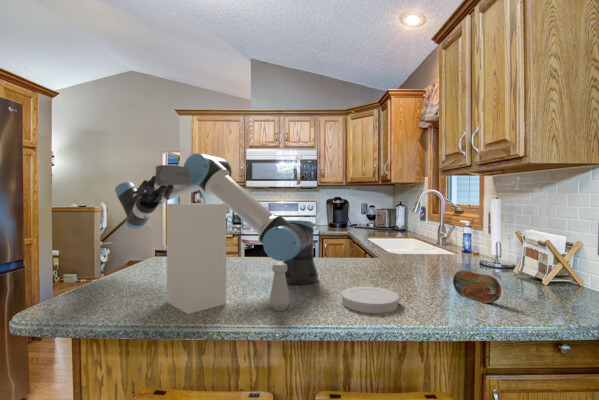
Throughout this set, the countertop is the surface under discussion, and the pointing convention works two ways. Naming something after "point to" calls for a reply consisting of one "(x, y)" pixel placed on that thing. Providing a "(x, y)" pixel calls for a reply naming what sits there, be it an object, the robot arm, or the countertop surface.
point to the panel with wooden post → (172, 175)
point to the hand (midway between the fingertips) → (166, 172)
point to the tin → (477, 286)
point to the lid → (370, 299)
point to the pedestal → (196, 256)
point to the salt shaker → (279, 288)
